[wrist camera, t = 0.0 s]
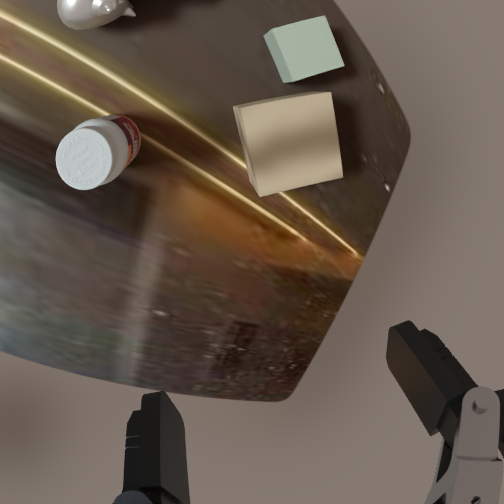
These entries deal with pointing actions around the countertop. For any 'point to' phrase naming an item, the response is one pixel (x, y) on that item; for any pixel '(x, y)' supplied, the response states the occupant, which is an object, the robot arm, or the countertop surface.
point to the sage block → (303, 49)
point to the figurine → (92, 12)
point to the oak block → (289, 141)
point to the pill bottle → (97, 151)
